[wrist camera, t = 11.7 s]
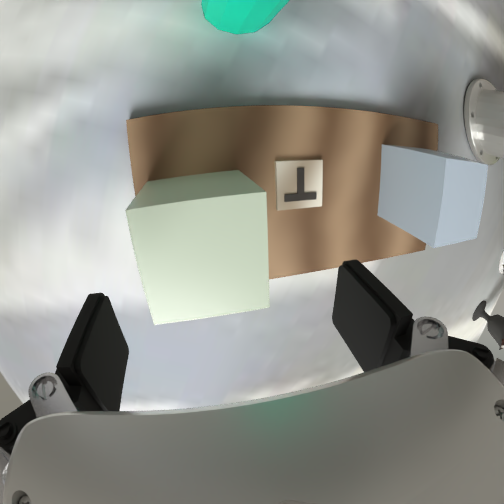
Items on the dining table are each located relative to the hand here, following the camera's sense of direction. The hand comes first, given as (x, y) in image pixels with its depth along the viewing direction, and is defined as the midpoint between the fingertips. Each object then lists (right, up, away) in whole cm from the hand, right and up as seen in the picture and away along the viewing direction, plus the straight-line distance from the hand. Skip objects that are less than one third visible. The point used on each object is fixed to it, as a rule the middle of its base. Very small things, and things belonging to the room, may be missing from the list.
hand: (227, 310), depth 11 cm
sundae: (+49, -10, +32) cm, 59 cm away
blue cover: (+16, +9, +14) cm, 23 cm away
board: (+7, +8, +13) cm, 17 cm away
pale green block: (-3, +5, +11) cm, 13 cm away
